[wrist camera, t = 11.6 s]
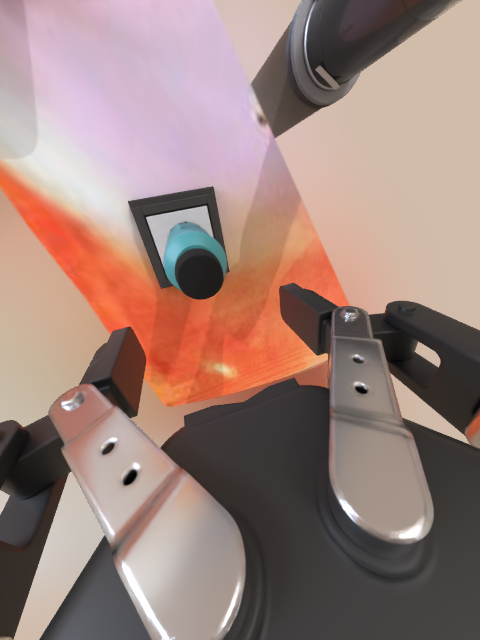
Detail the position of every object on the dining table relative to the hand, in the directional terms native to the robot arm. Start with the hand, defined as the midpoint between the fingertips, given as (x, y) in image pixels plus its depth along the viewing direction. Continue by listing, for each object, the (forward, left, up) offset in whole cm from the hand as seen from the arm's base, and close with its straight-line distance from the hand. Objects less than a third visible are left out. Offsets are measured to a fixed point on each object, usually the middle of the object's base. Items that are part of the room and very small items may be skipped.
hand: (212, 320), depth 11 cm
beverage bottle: (0, 0, -27) cm, 27 cm away
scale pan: (0, 0, -28) cm, 28 cm away
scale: (0, 0, -30) cm, 30 cm away
